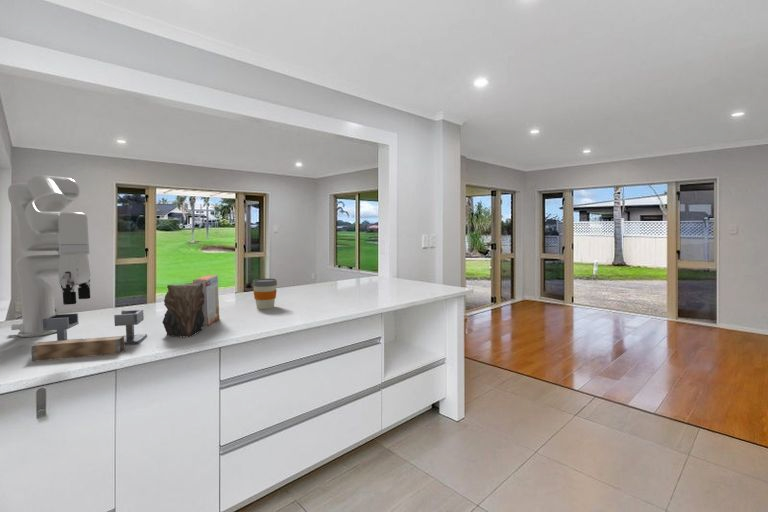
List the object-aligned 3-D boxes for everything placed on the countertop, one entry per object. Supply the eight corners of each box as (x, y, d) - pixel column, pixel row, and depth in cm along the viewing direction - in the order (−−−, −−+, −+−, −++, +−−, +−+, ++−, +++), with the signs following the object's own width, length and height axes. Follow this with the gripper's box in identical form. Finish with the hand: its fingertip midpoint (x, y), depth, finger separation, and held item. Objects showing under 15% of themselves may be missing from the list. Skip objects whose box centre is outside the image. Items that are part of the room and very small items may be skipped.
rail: (32, 361, 116) (31, 345, 116) (39, 357, 120) (38, 342, 120) (120, 353, 123) (119, 339, 123) (124, 349, 127) (123, 335, 127)
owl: (161, 335, 145) (159, 285, 143) (185, 327, 157) (183, 281, 155) (188, 337, 142) (187, 287, 140) (210, 329, 154) (209, 282, 153)
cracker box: (206, 319, 171) (205, 275, 170) (219, 318, 172) (218, 275, 170) (193, 327, 157) (192, 279, 156) (208, 326, 158) (206, 279, 156)
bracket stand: (40, 351, 125) (38, 320, 124) (56, 343, 134) (54, 313, 133) (138, 343, 134) (137, 314, 133) (146, 336, 143) (145, 308, 142)
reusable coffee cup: (273, 309, 191) (272, 281, 190) (249, 309, 192) (248, 281, 190) (280, 304, 204) (279, 278, 203) (258, 304, 204) (257, 278, 203)
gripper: (73, 248, 126) (76, 297, 127) (45, 251, 110) (48, 307, 111) (99, 248, 128) (102, 296, 130) (75, 251, 112) (78, 305, 113)
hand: (77, 301), depth 120 cm, fingers open, 9 cm apart
